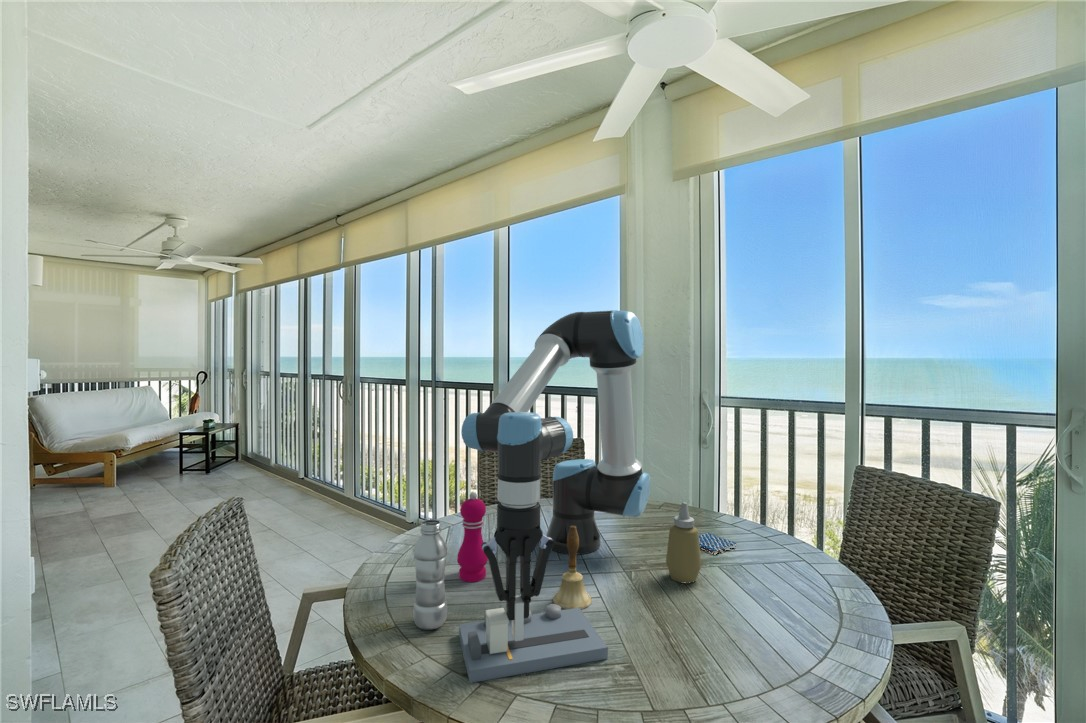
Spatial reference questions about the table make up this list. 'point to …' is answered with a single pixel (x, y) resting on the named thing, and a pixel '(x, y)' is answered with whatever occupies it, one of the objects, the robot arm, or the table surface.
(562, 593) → the hand bell
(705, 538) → the woven mat
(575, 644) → the console board
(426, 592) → the plastic bottle
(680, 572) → the squeeze bottle
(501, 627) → the fader tab
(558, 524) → the robot arm
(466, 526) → the pepper mill
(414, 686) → the table surface
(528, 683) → the table surface
